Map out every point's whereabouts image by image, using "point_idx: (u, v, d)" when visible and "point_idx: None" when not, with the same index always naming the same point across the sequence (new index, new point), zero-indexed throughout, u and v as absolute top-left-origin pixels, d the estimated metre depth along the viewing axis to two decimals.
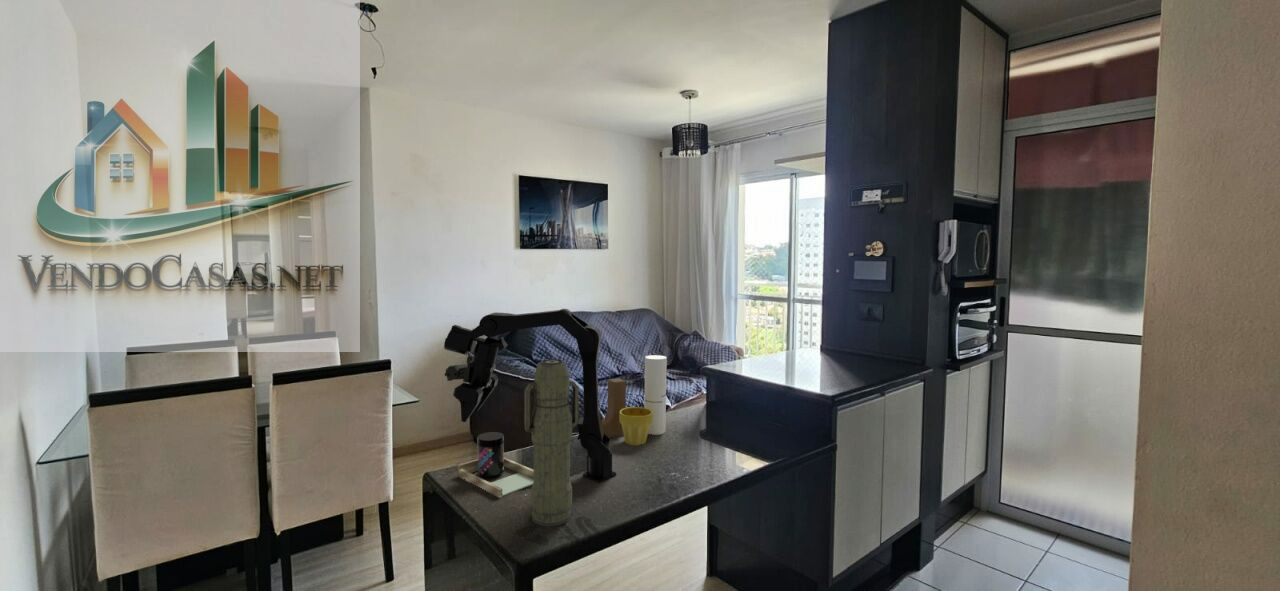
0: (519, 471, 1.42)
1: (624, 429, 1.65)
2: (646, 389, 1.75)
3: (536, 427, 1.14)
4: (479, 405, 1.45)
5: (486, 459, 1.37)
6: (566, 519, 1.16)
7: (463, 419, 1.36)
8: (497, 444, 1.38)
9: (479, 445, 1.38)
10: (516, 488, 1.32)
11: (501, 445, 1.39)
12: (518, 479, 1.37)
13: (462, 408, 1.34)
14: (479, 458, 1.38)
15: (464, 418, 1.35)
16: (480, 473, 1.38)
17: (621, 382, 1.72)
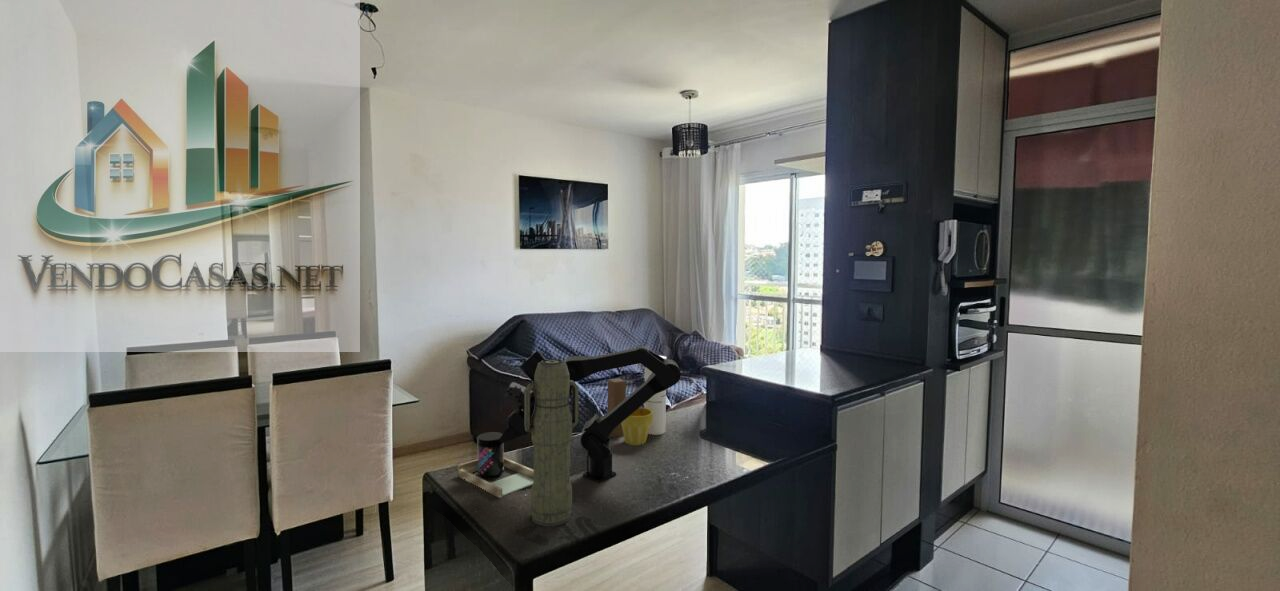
0: (519, 471, 1.42)
1: (624, 429, 1.65)
2: None
3: (536, 427, 1.14)
4: None
5: (486, 459, 1.37)
6: (566, 519, 1.16)
7: (501, 440, 1.35)
8: (497, 444, 1.38)
9: (479, 445, 1.38)
10: (516, 488, 1.32)
11: (501, 445, 1.39)
12: (518, 479, 1.37)
13: (506, 431, 1.34)
14: (479, 458, 1.38)
15: (502, 440, 1.35)
16: (480, 473, 1.38)
17: (621, 382, 1.72)
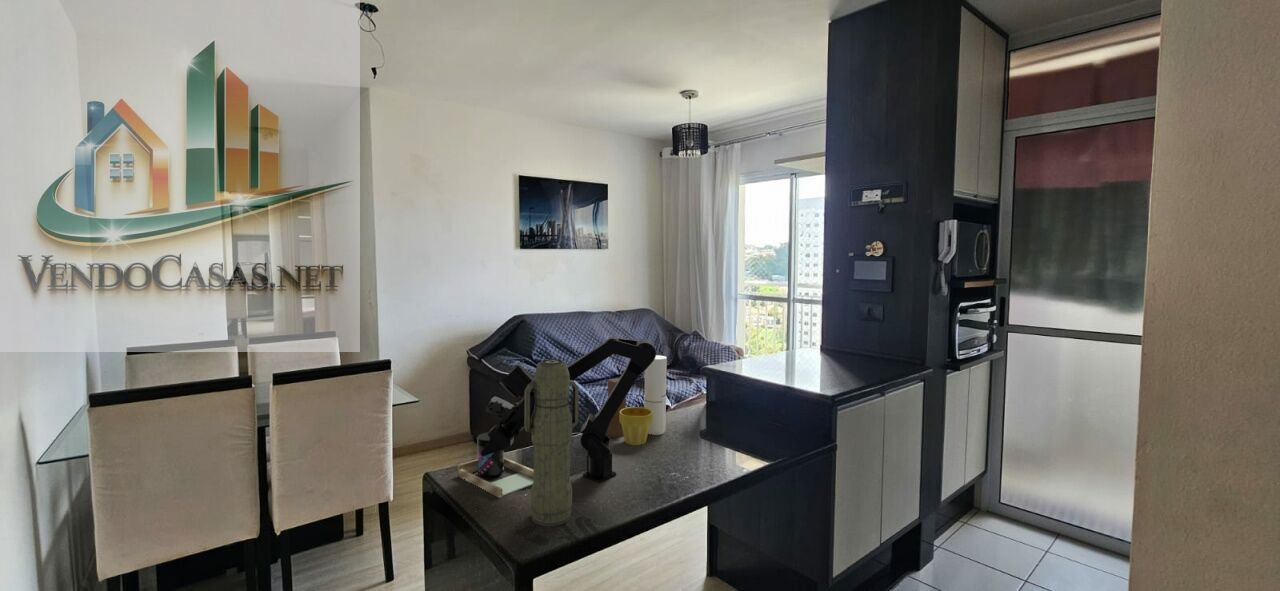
0: (519, 471, 1.42)
1: (624, 429, 1.65)
2: (646, 389, 1.75)
3: (536, 427, 1.14)
4: None
5: (486, 459, 1.37)
6: (566, 519, 1.16)
7: (483, 453, 1.36)
8: None
9: (479, 445, 1.38)
10: (516, 488, 1.32)
11: None
12: (518, 479, 1.37)
13: (488, 444, 1.35)
14: (479, 458, 1.38)
15: (484, 453, 1.36)
16: (480, 473, 1.38)
17: None
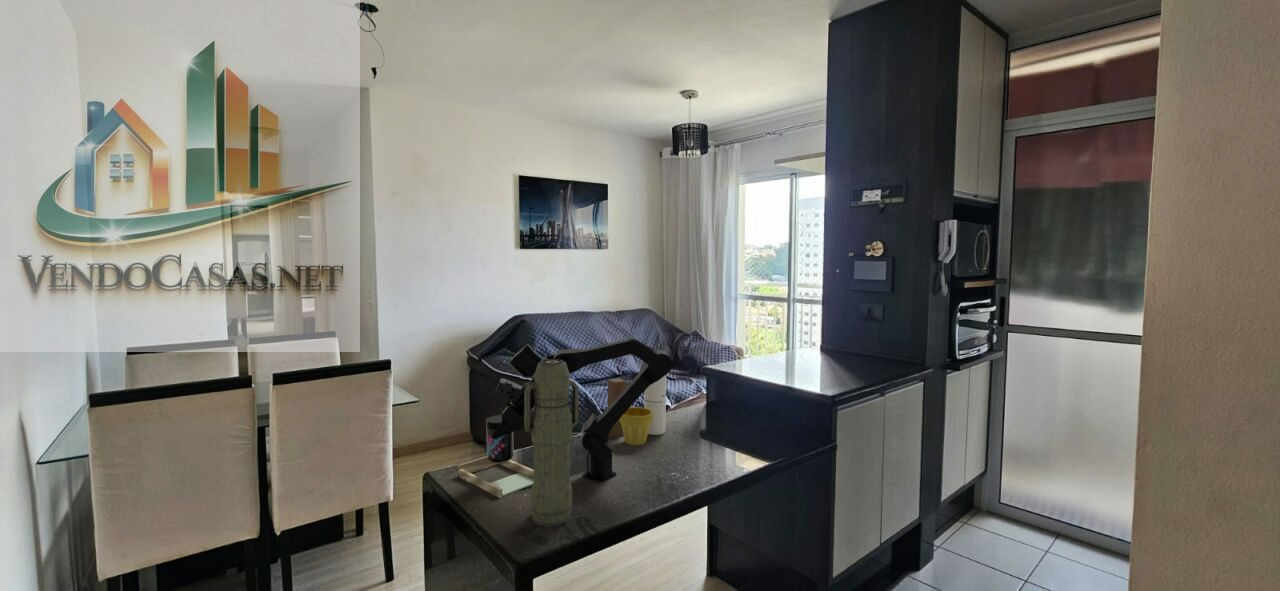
0: (519, 471, 1.42)
1: (624, 429, 1.65)
2: (646, 389, 1.75)
3: (536, 427, 1.14)
4: None
5: (497, 442, 1.34)
6: (566, 519, 1.16)
7: (494, 436, 1.33)
8: None
9: (489, 428, 1.34)
10: (516, 488, 1.32)
11: None
12: (518, 479, 1.37)
13: (499, 426, 1.32)
14: (489, 442, 1.35)
15: (495, 436, 1.33)
16: (491, 457, 1.35)
17: (621, 382, 1.72)
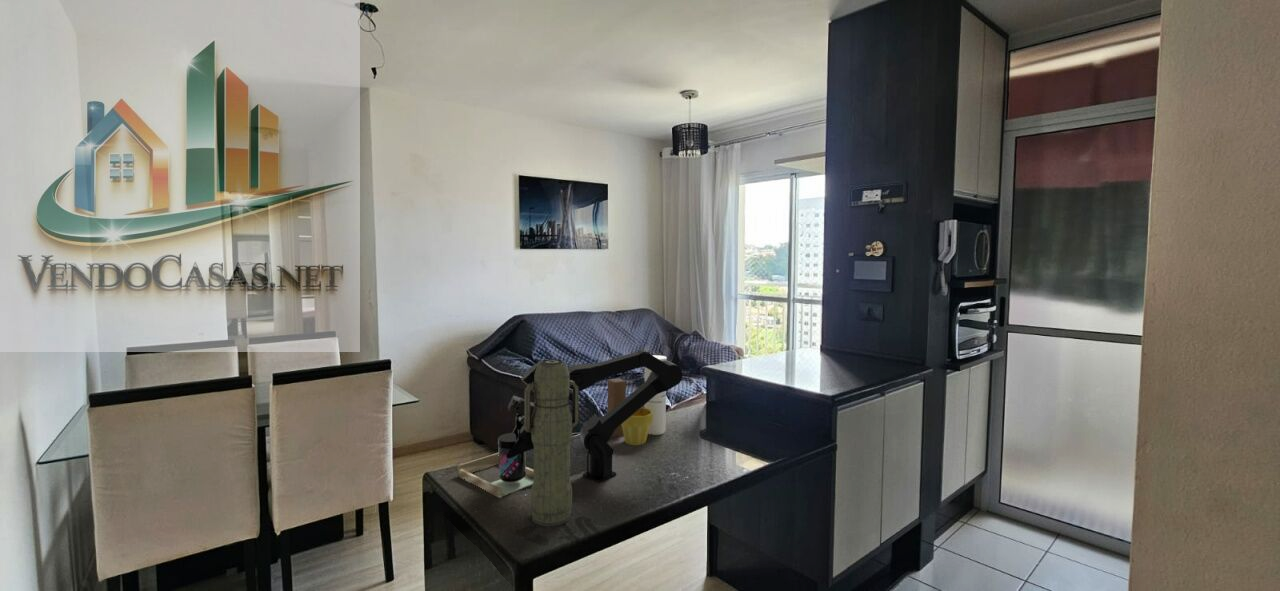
0: None
1: (624, 429, 1.65)
2: None
3: (536, 427, 1.14)
4: None
5: (512, 461, 1.31)
6: (566, 519, 1.16)
7: (509, 455, 1.31)
8: None
9: (502, 447, 1.31)
10: (516, 488, 1.32)
11: None
12: None
13: (515, 445, 1.30)
14: (503, 461, 1.32)
15: (510, 455, 1.30)
16: (504, 477, 1.32)
17: (621, 382, 1.72)
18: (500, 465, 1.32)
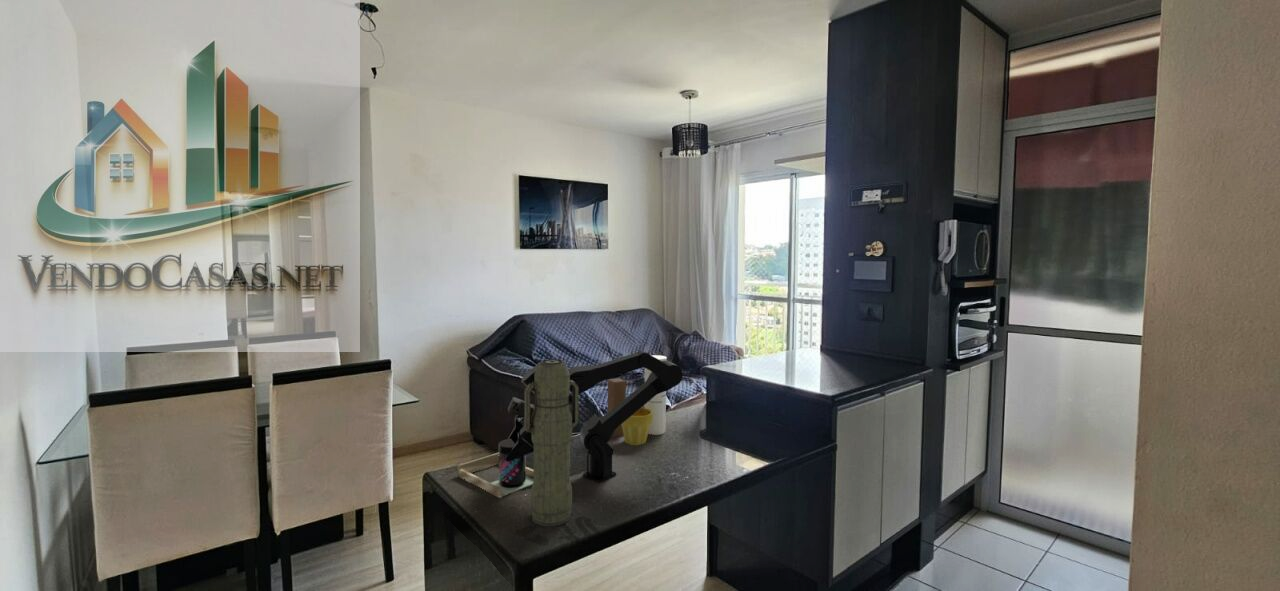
0: None
1: (624, 429, 1.65)
2: None
3: (536, 427, 1.14)
4: None
5: (512, 467, 1.31)
6: (566, 519, 1.16)
7: (508, 458, 1.29)
8: None
9: (503, 453, 1.31)
10: (516, 488, 1.32)
11: None
12: None
13: (515, 448, 1.29)
14: (503, 467, 1.32)
15: (510, 458, 1.29)
16: (504, 482, 1.32)
17: (621, 382, 1.72)
18: (500, 471, 1.32)
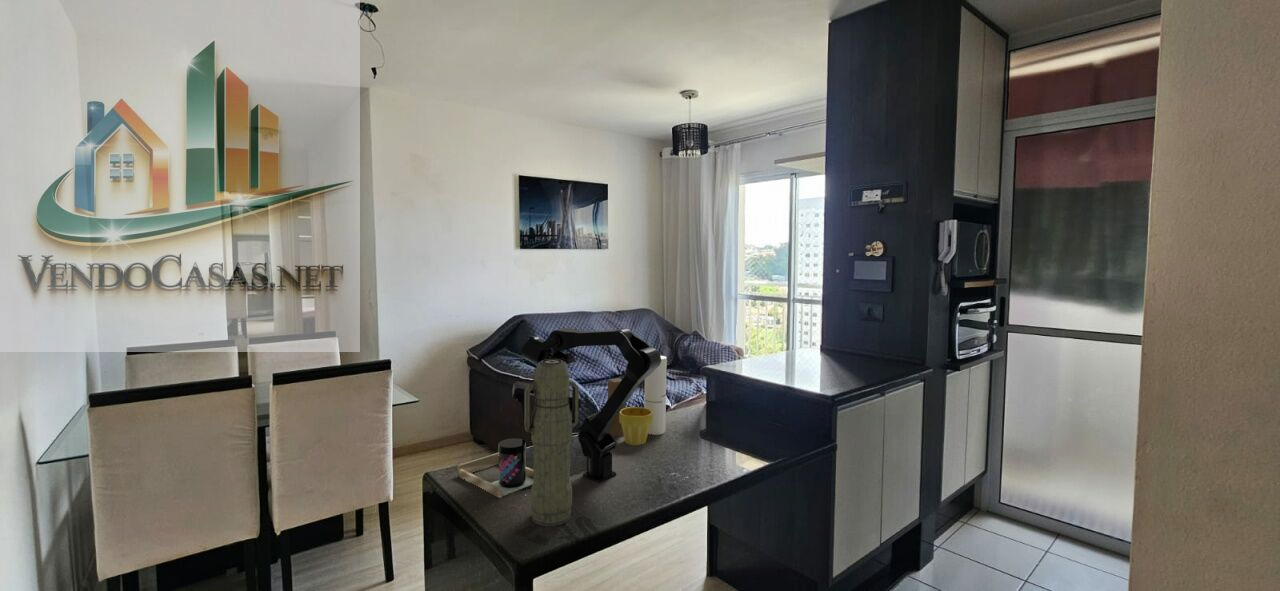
0: None
1: (624, 429, 1.65)
2: (646, 389, 1.75)
3: (536, 427, 1.14)
4: None
5: (512, 467, 1.31)
6: (566, 519, 1.16)
7: (523, 417, 1.48)
8: (522, 451, 1.33)
9: (503, 453, 1.31)
10: (516, 488, 1.32)
11: (525, 451, 1.34)
12: None
13: None
14: (503, 467, 1.32)
15: (522, 416, 1.47)
16: (504, 483, 1.32)
17: None
18: (500, 471, 1.32)
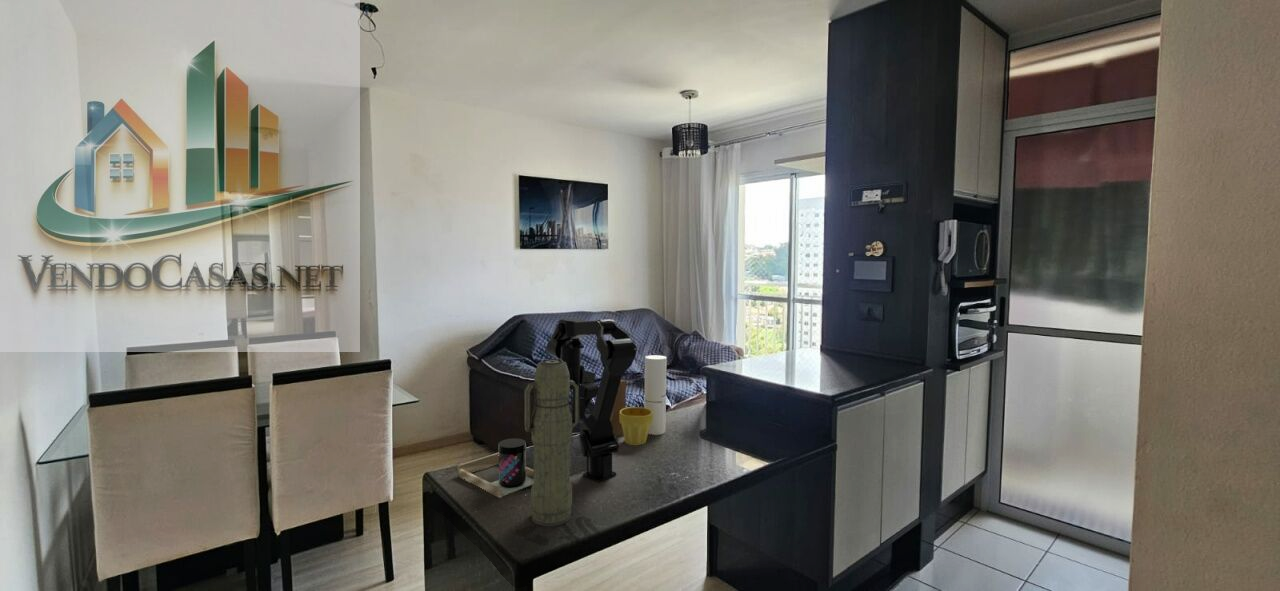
0: None
1: (624, 429, 1.65)
2: (646, 389, 1.75)
3: (536, 427, 1.14)
4: None
5: (512, 467, 1.31)
6: (566, 519, 1.16)
7: None
8: (522, 451, 1.33)
9: (503, 453, 1.31)
10: (516, 488, 1.32)
11: (525, 451, 1.34)
12: None
13: None
14: (503, 467, 1.32)
15: None
16: (504, 483, 1.32)
17: (621, 382, 1.72)
18: (500, 471, 1.32)
